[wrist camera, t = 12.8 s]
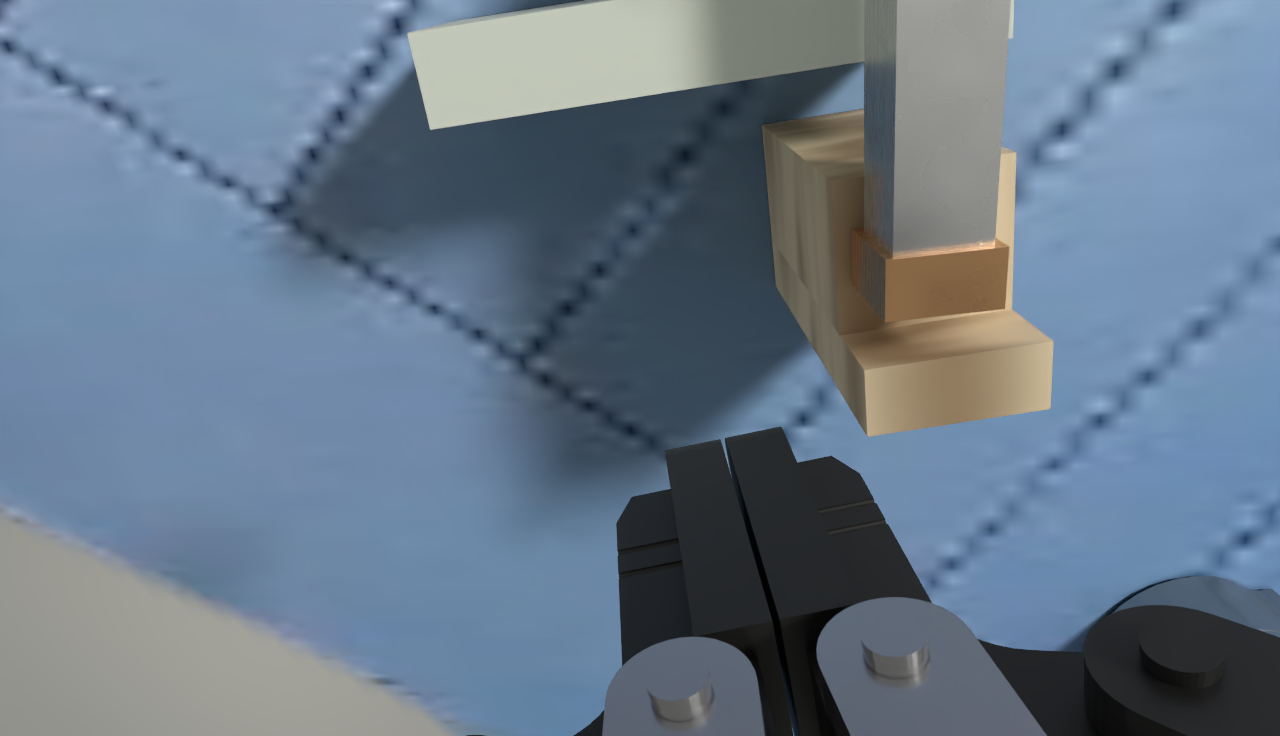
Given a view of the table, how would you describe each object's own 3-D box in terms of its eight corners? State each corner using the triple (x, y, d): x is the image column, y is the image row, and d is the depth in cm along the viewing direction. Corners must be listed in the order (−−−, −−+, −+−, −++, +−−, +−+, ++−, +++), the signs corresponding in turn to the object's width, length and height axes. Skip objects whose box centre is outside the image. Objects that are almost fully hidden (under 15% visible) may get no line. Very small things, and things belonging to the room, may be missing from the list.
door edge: (903, -51, 31) (1015, -64, 23) (904, 24, 32) (1012, 37, 24) (456, 20, 31) (407, 32, 23) (471, 93, 32) (430, 129, 24)
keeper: (893, 104, 33) (1062, 170, 21) (897, 268, 36) (1050, 408, 24) (761, 124, 33) (856, 202, 21) (775, 286, 36) (867, 436, 24)
